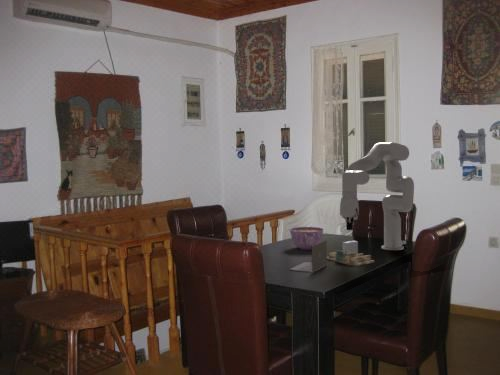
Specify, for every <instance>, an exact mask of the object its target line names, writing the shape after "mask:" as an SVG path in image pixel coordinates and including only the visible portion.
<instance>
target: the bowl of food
mask: <svg viewBox="0 0 500 375" xmlns="http://www.w3.org/2000/svg"><path fill="white" fill-rule="evenodd" d="M289 232H290V236H291V240H292V242H293V245H294V246H295V247H297V248H299V249H300V250H303V251H304V250H305V251H312V246H314V245H317V244H319V243H322V242H321V241H322V239H323V234H324V228H321V227H315V226H299V227H298V226H297V227H293V228H290V229H289Z"/></svg>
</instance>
